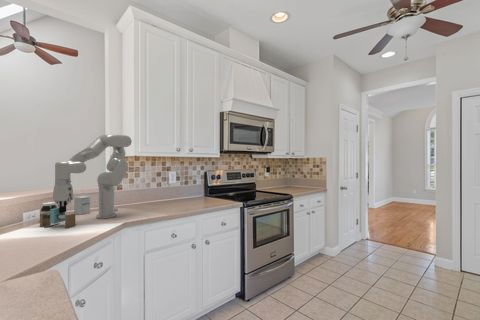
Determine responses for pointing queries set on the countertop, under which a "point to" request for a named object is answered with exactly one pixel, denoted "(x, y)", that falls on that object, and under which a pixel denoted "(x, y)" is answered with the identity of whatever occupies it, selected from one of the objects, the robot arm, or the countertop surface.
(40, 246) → the countertop surface
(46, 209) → the spread jar
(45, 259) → the countertop surface
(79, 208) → the supplement box
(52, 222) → the teal flat block
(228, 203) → the countertop surface
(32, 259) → the countertop surface
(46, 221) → the brown wooden rack
